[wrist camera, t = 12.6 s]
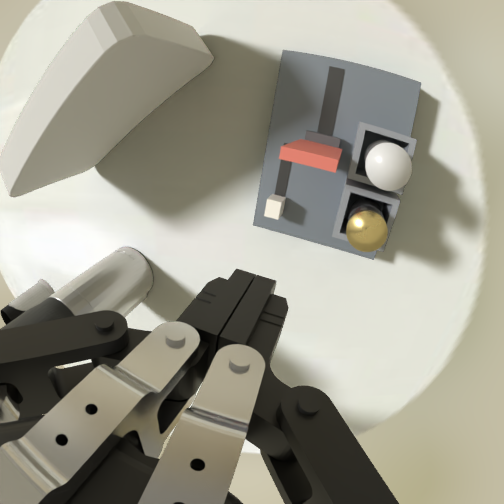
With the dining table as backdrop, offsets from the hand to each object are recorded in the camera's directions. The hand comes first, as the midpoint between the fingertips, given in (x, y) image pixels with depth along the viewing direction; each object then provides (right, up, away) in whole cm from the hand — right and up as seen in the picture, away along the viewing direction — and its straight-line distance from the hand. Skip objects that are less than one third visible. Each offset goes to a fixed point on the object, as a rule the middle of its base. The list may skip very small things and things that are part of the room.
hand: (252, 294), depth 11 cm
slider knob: (+3, +7, +23) cm, 24 cm away
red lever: (+7, +13, +19) cm, 24 cm away
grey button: (+12, +10, +13) cm, 20 cm away
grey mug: (-54, -12, +57) cm, 80 cm away
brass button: (+11, +5, +17) cm, 21 cm away
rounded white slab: (-17, +23, +27) cm, 39 cm away
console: (+10, +13, +22) cm, 27 cm away
